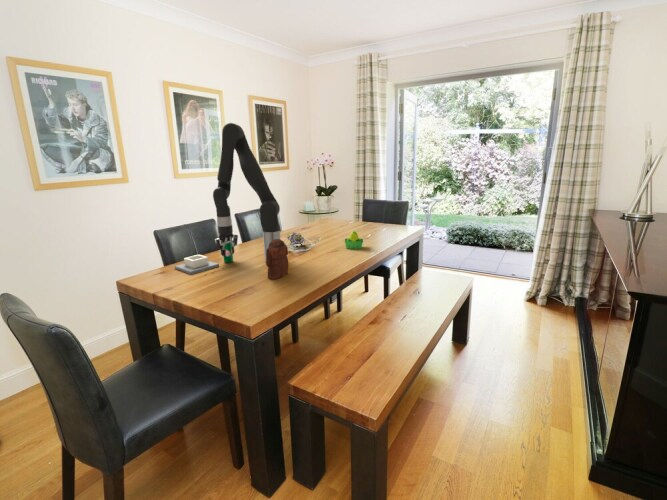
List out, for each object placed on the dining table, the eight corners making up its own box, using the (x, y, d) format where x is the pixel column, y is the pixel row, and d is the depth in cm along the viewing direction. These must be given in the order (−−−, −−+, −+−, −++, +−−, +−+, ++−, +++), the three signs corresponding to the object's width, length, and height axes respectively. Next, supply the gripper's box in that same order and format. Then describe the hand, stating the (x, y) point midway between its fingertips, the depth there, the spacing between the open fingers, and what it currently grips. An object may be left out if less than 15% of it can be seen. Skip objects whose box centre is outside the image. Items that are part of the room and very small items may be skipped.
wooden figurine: (280, 271, 176) (277, 236, 171) (290, 273, 172) (288, 237, 168) (264, 278, 166) (261, 241, 161) (275, 280, 163) (272, 243, 158)
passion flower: (299, 256, 220) (292, 244, 212) (288, 250, 227) (281, 238, 219) (311, 244, 224) (304, 231, 216) (300, 238, 231) (293, 226, 223)
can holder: (219, 266, 186) (218, 256, 184) (191, 274, 174) (189, 263, 172) (202, 261, 195) (201, 251, 194) (174, 268, 183) (173, 258, 182)
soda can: (222, 262, 191) (219, 241, 188) (226, 260, 196) (224, 239, 193) (230, 263, 191) (228, 241, 187) (235, 260, 195) (232, 239, 192)
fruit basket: (363, 246, 220) (363, 228, 217) (363, 250, 211) (363, 231, 208) (345, 246, 221) (344, 228, 218) (344, 250, 212) (344, 231, 210)
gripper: (217, 227, 180) (220, 259, 185) (240, 223, 191) (243, 253, 195) (208, 226, 185) (212, 257, 189) (231, 221, 196) (234, 251, 200)
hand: (228, 254), depth 192 cm, fingers closed on soda can, 5 cm apart
